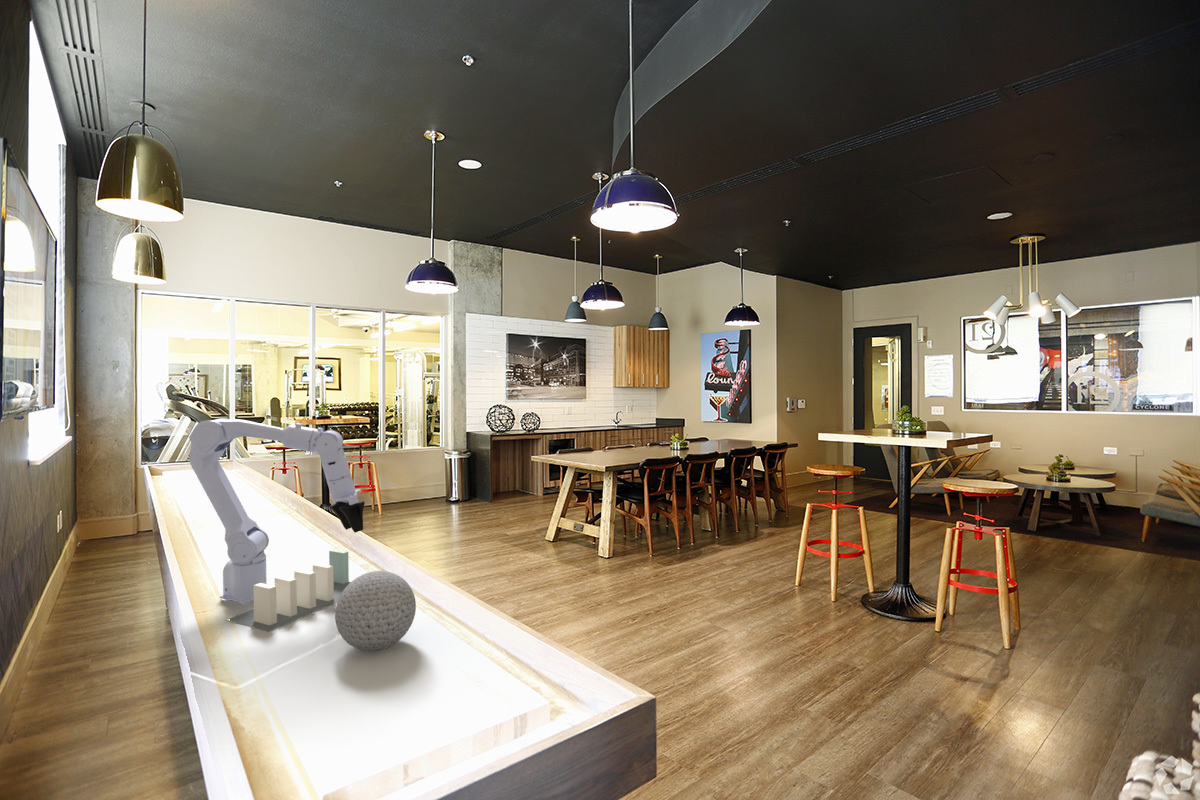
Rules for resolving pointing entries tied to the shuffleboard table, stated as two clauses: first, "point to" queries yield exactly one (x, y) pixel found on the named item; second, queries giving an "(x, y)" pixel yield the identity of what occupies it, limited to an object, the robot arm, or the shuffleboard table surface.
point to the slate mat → (248, 616)
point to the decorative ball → (375, 610)
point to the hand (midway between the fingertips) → (354, 529)
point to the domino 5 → (339, 565)
